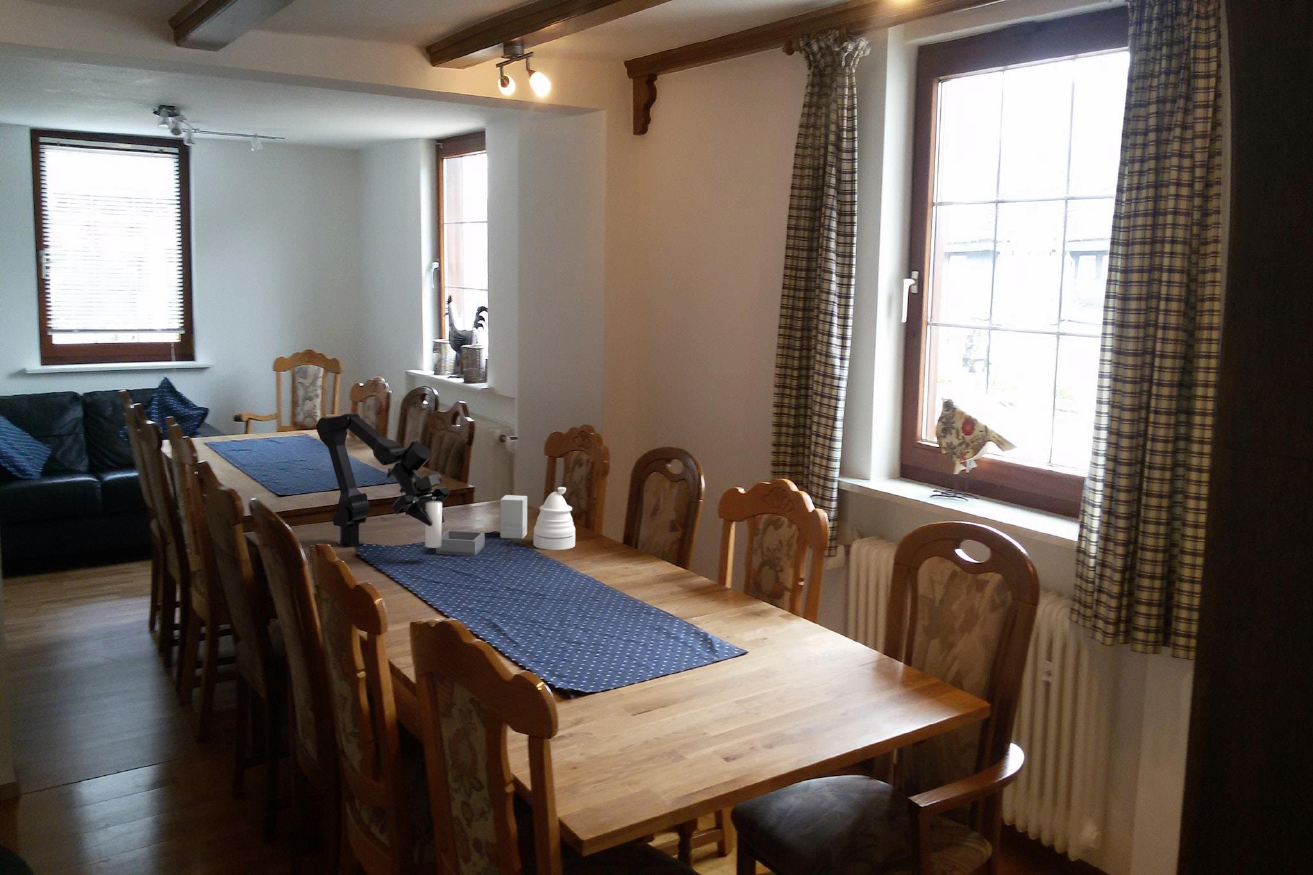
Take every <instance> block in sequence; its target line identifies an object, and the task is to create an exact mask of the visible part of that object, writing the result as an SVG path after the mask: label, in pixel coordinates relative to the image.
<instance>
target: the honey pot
mask: <svg viewBox="0 0 1313 875" xmlns="http://www.w3.org/2000/svg"><path fill="white" fill-rule="evenodd" d="M566 491H567V488H566V487H563V486H560V487H557V491H553V492H551V493H550V494H549V495H548V496H547V497H546V499H545V501H544V503H543V504H542V505H541V506H539V510H540V512H539V515H538V516H537V520H536V522H535V525H534V527H533V546H534V547H536V548H538V549H541V550H542V549H543V550H548V551H549V550H550V551H553V550H554V551H560V550H569V549H572V548H574V547H575V546H576V527H575V525H574V520H573V517H572V515H571V512H572V511H573V507H572V506H570V505H569V504H567V502H566V500H565V498H564V497H563V496H564V494H565V493H566Z"/></svg>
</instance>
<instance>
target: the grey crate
mask: <svg viewBox="0 0 1313 875" xmlns="http://www.w3.org/2000/svg"><path fill="white" fill-rule="evenodd" d="M485 532H486V531H485ZM485 532H484V531H470V530H450V529H449V530H448V529H447V530H446V531H444V532H443V533H442V546H441V547H438V548H435V554H436V555H447V556H448V555H450V556H451V555H453V556H469V557H476V556H477V555H478V554H479V553H480V552H481V551H482V550H483V549H484V548H485V538H486V536H485V535H486V534H485Z"/></svg>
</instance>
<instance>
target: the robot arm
mask: <svg viewBox="0 0 1313 875" xmlns="http://www.w3.org/2000/svg"><path fill="white" fill-rule="evenodd" d="M315 429H316V433H317V434H318V436H319V440H320V441H321V442H322V443H323V444H324V445H325V446H326V448H328V453H329V456H330V460H331V464H332V467H333V471H334V474H335V477H336V481H337V485H338V489H339V492H340V496H339V499H338V502H337V505H338V511H337V512H336V514H334V515H333V517H332V518H331V519H332V524H333V526H335V527H339V540H336V541H335V544H337V545H339V546H340V547H343V548H346V547H355V546H364V545H365V544H364V542H362V541H361V540H360V538H361V537H360V536H361V535H360V533H361V530H360V526H361V525H360V524H365V523H367V522H366V521H367V519H368V515H369V513H370V507H371V505H370V502H369V501H368V495H367V493H366V492H361V491H360V489H358V486H357V482H356V479H355V476H354V473H353V468H352V464H351V461H350V456H349V455H348V454H349V453H348V450H347V447H346V440H347V436H348V431H350V432H351V433H352V434H353V435H355V436H356V437H357V438H358V439H359V440H361V441H362V442H363V443H364V444H365V445H367V446H368V447H369V448H370V450H372V454H373V456H374V458H375V459H376V460H377V461H378V462H379V463H380V465H382V466H389V465H390V466H391V465H393V466H392V467H390V468H389V467H388V468H387V474H386V478H387V479H392V478H394V479H395V481H396V482H397V483H398V485H399V487H400V489H399V493H400V494H401V495H400V496H399V497H397V500H395V501H394V503H393V504H392V511H393V513H394V514H395V515H397V516H398V515H401V514H403V513H404V511H405V509H406V511H405V513H404V514H405V515H406V516H407V515H408V516H410V517H412V518H415V519H416V520H418V521H419V522H421V523H423V524H424V525H425V524H426V525H428V526H431V525H432V522H431V520H430V518H429V516H428V514H427V513H426V511H425V509H426V508H424V503H426V502H429V501H439V502H442V503H443V502H445V500H446V499H447V498H448V497H449V496H450V495H451V491H450V489H449V488H448V487H446V486H441V487H437V486H440V485H441V482H443V476H442V475H441V474H440V472H439V471H433V472H431V473H430V474H429V475H426V476H423V475H422V476H418V474H417V471H420V470H421V469H422V467H423V466H424V465H425V464H426V463H427V462H428V461H429V460H430V459H431V457H432V452H431V450H430V449H429V448H428V447H426V445H424V444H422V443H420V442H419V441H418V440H414V441H411V442H410V444H409V446H407V448H405V447H404V446H403V445H402V444H401V443H399V442H397V441H396V440H394V439H389V438H387V437H385V436H383V435H382V434H381V433H379V432H378V430H376V429H375V428H373V426H371V425H370V424H369V423H368V422H366V421H365V420H364V419H363V418H362V417H361V415H359V413H357V412H350V413H344V414H341V415H335V416H325V417H320V418H319V419H318V420H317V423H316V424H315ZM434 487H437V488H435V489H434V490H433V488H434ZM402 494H403V495H402ZM404 508H405V509H404ZM444 522H445V516H444V513H443V511H442V524H443V523H444Z"/></svg>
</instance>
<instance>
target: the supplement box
mask: <svg viewBox="0 0 1313 875" xmlns="http://www.w3.org/2000/svg"><path fill="white" fill-rule="evenodd" d="M499 501H500V518H499V519H500V527H499V530H500V531H499V532H500V538H501V539H517V540H518V539H519V540H522V539H524V538H525V537H526V536H527V534H528V495H515V494H514V495H512V494H506V495H504V496H503V497H502V498H500V500H499Z"/></svg>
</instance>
